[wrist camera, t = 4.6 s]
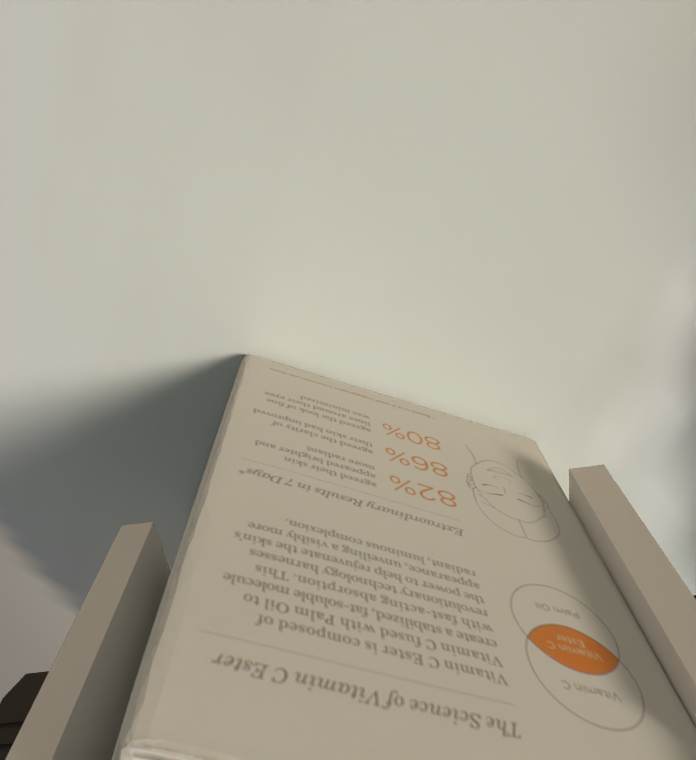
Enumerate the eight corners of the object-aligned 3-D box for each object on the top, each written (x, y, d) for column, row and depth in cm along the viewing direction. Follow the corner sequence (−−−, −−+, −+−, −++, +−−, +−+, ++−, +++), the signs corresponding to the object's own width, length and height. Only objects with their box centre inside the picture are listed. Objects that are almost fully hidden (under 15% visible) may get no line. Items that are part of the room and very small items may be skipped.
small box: (191, 521, 18) (20, 1022, 8) (245, 343, 16) (96, 751, 6) (457, 592, 19) (572, 1104, 10) (541, 436, 17) (801, 899, 7)
